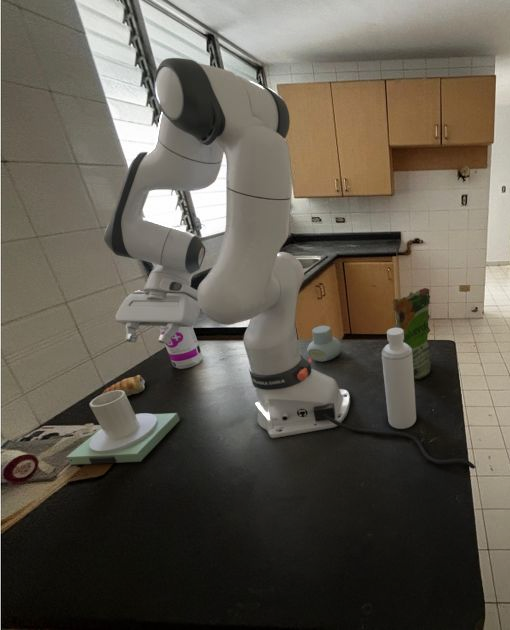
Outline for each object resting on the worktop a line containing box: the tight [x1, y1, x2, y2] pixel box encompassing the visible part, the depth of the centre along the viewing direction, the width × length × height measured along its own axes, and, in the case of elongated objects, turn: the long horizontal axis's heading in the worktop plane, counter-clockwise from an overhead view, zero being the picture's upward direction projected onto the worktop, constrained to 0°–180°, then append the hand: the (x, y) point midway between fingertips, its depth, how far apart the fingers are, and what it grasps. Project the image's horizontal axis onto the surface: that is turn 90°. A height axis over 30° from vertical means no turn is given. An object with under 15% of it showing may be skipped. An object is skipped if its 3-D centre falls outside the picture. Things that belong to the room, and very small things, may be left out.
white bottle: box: [380, 327, 417, 430], centre depth 75 cm, size 7×7×25 cm
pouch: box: [391, 287, 432, 380], centre depth 94 cm, size 11×12×25 cm
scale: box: [65, 412, 181, 466], centre depth 76 cm, size 15×13×3 cm
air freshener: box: [306, 325, 343, 362], centre depth 107 cm, size 11×8×10 cm
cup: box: [89, 390, 140, 440], centre depth 74 cm, size 6×6×9 cm
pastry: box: [100, 374, 146, 397], centre depth 94 cm, size 9×7×4 cm
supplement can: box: [159, 326, 204, 370], centre depth 106 cm, size 8×8×15 cm
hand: (146, 342), depth 80 cm, fingers open, 8 cm apart
